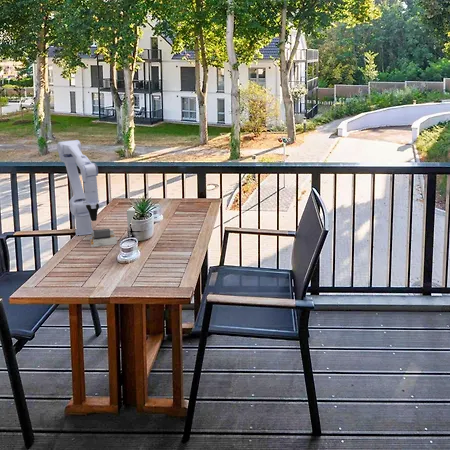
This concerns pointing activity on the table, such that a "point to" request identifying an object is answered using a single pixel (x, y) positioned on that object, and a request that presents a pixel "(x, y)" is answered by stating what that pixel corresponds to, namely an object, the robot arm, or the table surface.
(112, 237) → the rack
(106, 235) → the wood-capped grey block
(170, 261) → the table surface
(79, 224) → the robot arm
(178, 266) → the table surface
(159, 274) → the table surface
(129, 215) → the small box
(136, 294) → the table surface
